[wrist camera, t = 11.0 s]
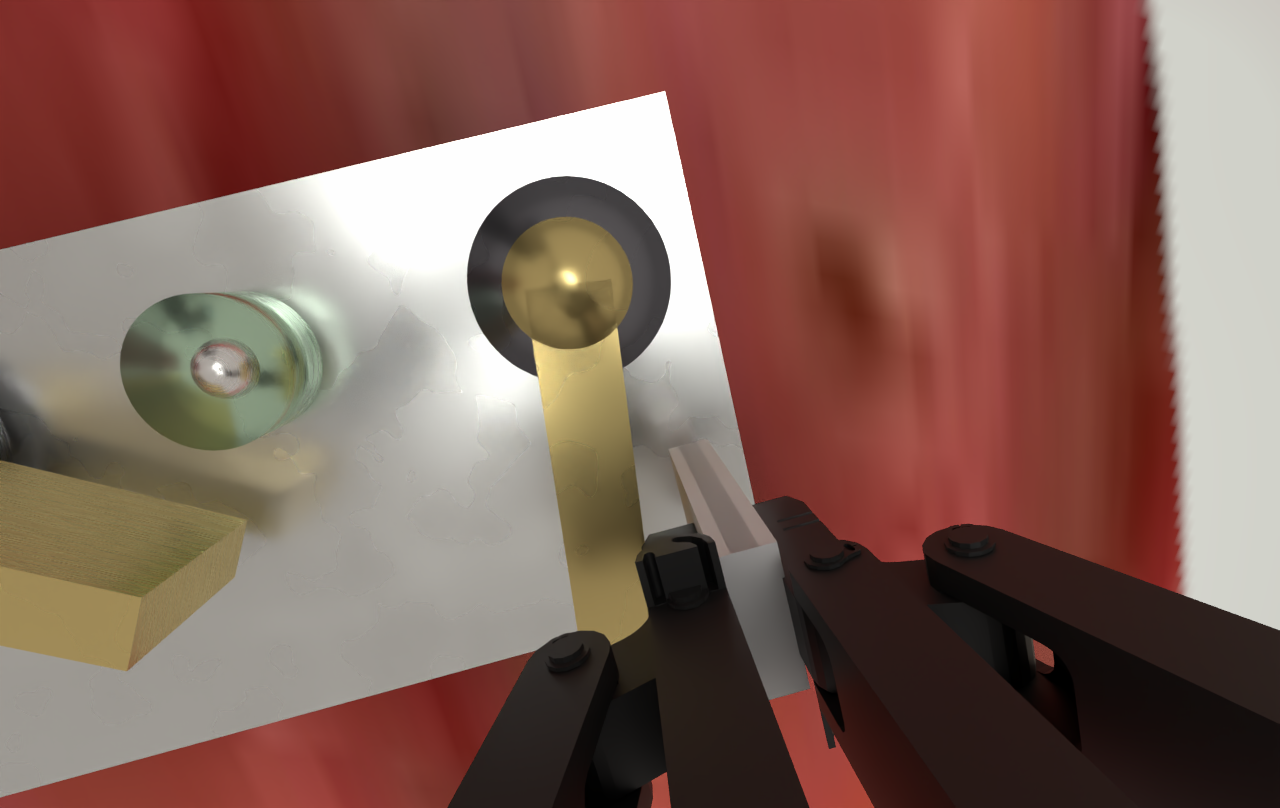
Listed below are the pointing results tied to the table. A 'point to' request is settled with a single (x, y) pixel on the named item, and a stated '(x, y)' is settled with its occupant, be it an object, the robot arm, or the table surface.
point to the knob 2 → (579, 363)
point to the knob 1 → (102, 565)
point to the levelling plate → (330, 430)
